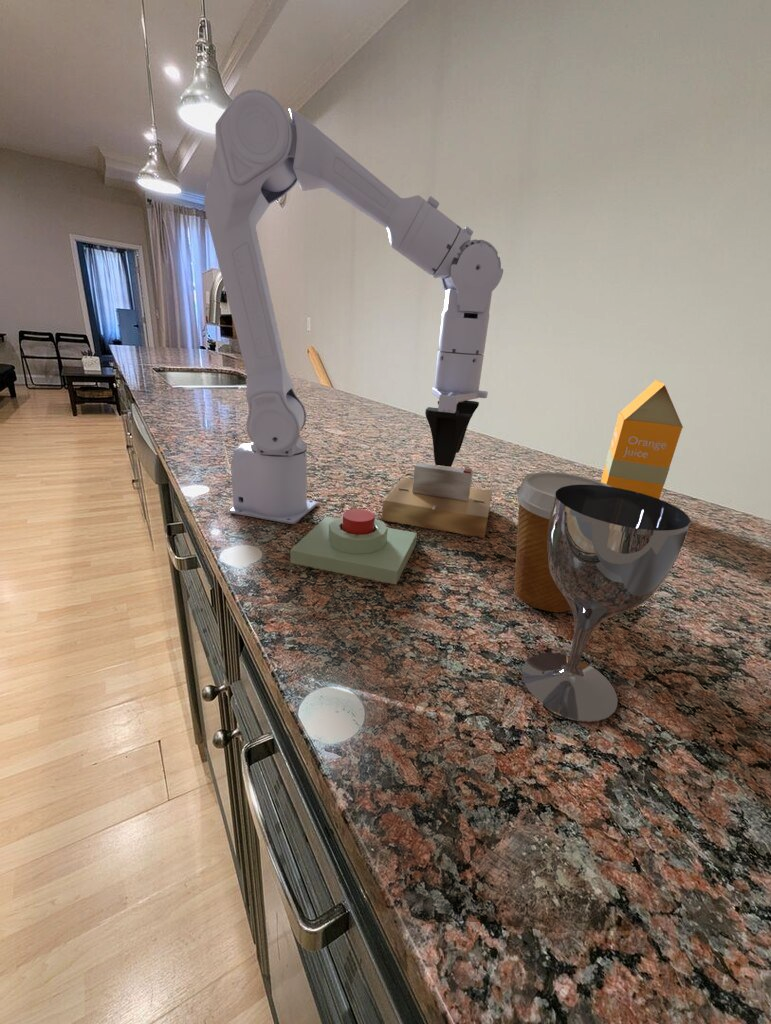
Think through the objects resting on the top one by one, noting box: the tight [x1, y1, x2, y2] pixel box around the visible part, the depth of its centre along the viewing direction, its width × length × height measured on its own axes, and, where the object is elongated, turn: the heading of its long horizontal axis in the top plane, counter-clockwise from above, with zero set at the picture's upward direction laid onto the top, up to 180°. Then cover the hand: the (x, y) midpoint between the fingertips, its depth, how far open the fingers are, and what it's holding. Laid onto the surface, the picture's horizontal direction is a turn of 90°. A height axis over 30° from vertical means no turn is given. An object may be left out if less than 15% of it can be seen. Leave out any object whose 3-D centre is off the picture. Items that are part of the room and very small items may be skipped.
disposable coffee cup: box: [513, 471, 611, 613], centre depth 44 cm, size 10×10×12 cm
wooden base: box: [381, 477, 493, 538], centre depth 64 cm, size 14×12×3 cm
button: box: [342, 508, 376, 535], centre depth 50 cm, size 4×4×2 cm
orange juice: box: [600, 379, 684, 499], centre depth 69 cm, size 8×9×20 cm
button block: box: [289, 516, 418, 585], centre depth 51 cm, size 12×10×4 cm
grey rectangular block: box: [412, 462, 474, 501], centre depth 63 cm, size 8×2×4 cm, turn 75°
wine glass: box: [521, 485, 691, 723], centre depth 32 cm, size 8×8×15 cm
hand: (447, 458), depth 61 cm, fingers open, 7 cm apart
